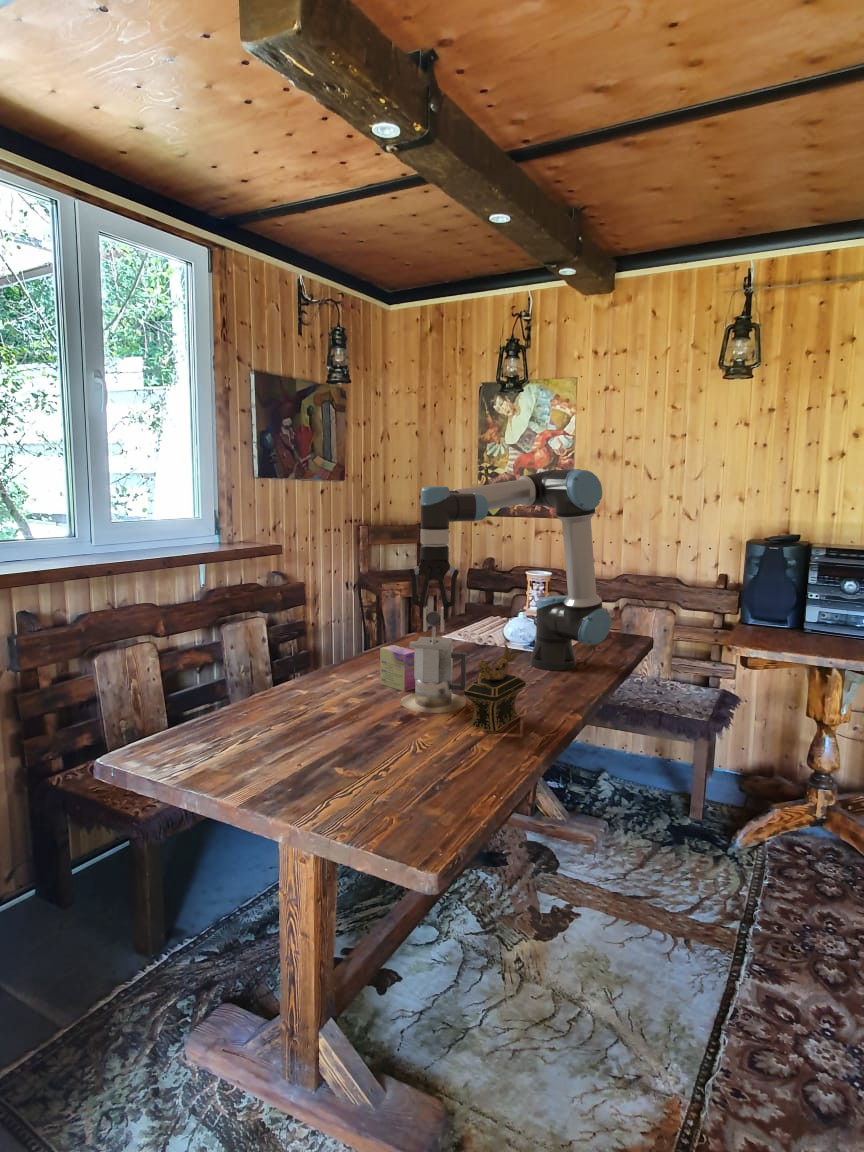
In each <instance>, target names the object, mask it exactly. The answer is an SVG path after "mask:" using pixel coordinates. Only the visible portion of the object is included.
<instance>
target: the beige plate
mask: <svg viewBox="0 0 864 1152" xmlns="http://www.w3.org/2000/svg"><path fill="white" fill-rule="evenodd" d="M466 703H467V700H466V698H464V697H463V696H461V695H459V694H455V693H452V702H451V704H450V705H448V706H444V707H438V708H430V707H423V706H420V705H418V704H416V703H415V692H414V693H410V694H407V695H405V696H403V697H402V698H401V700H400V704H401V706H403V707H404V708H406V709H407V710H410V711H413V712H414V711H415V712H417V713H429V714H441V713H451V712H454V711H458V710H459V709H462V708H463V707H465V706H466Z"/></svg>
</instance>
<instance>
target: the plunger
mask: <svg viewBox="0 0 864 1152" xmlns="http://www.w3.org/2000/svg"><path fill="white" fill-rule="evenodd" d="M440 623H441V613H440V612H438V611H436V610H433V611H429V612H428V615H427V624H428V625H429V626H431V637H432V642H436V636H437V635H436V634H437V632H436V630H437V629H436V627H437V626H439V625H440Z"/></svg>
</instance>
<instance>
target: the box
mask: <svg viewBox="0 0 864 1152" xmlns="http://www.w3.org/2000/svg"><path fill="white" fill-rule="evenodd" d="M379 650H380V653H379V654H380V657H379V658H380V666H379V670H380V671H379V672H380V673H379V678H380V679H379V683H380V685H383V686H385V687H389V688H392V689H396V690H398V691H402V692H406V691H411V690H413V689H414V690H415V678H414V649H412V648H407V647H402V646H399V645H395V644H393V645H388V646H387V645H386V646H383V647H380V649H379Z"/></svg>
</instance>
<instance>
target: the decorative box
mask: <svg viewBox="0 0 864 1152" xmlns="http://www.w3.org/2000/svg"><path fill="white" fill-rule="evenodd" d="M520 652H521V651H520ZM520 652H519V651H517V652H515V653H512V654H511V650H510V648H509V647H508V644H506V643H505V642H504V651H503V654H502V656H498V657H496V658H494V659H492V661H491V662H489V663H488V664H487V663H486V662H487V661H486V660H484V659H480V660H478V662H477V667H478V670H479V674H478V678H477V680H475V681H473V682H471V683H470V684H469V685H467V686H466V688H465V689H464V690H463V694H464V697H466V698H467V699H468V700H469V701H470V702H471V703H472V705H473V709H474V711H473V716H472V719H471V720H470V721H469V726H471V727H473V728H477V729H482V732H483V733H487V734H492V735H496V734H499V733H500V732H499V731H500V730H501V729H503V728H504V727H505V726H508V725H509V724H510V723H512V722H514V721H516V720H518V719H519V718H520V717H519V715H518V712H517V710H516V699H517V697H518V695H519V694H520V692H521V691H522V690H523V689H524V688H525V687H526V684H527V683H526V680H524V679H523V678H521V677H519V676H518V675H515V674H509V673H507V672H508V670H509V668H510V667H509V663H512V662H515V661H516V660H517V658H518V657H519V656H520V654H521V653H520ZM495 662H496V664H495ZM494 664H495V666H494V669H492V666H493V665H494ZM484 730H486V731H484Z"/></svg>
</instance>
